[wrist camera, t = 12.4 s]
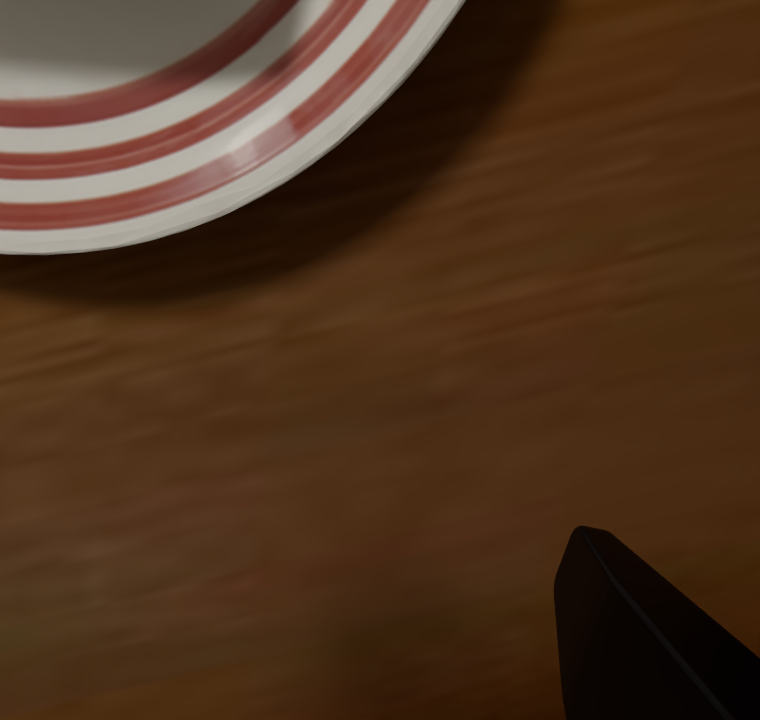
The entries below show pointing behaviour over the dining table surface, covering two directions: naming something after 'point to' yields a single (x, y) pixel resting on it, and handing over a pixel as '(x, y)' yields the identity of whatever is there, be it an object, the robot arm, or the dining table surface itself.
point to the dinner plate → (182, 106)
